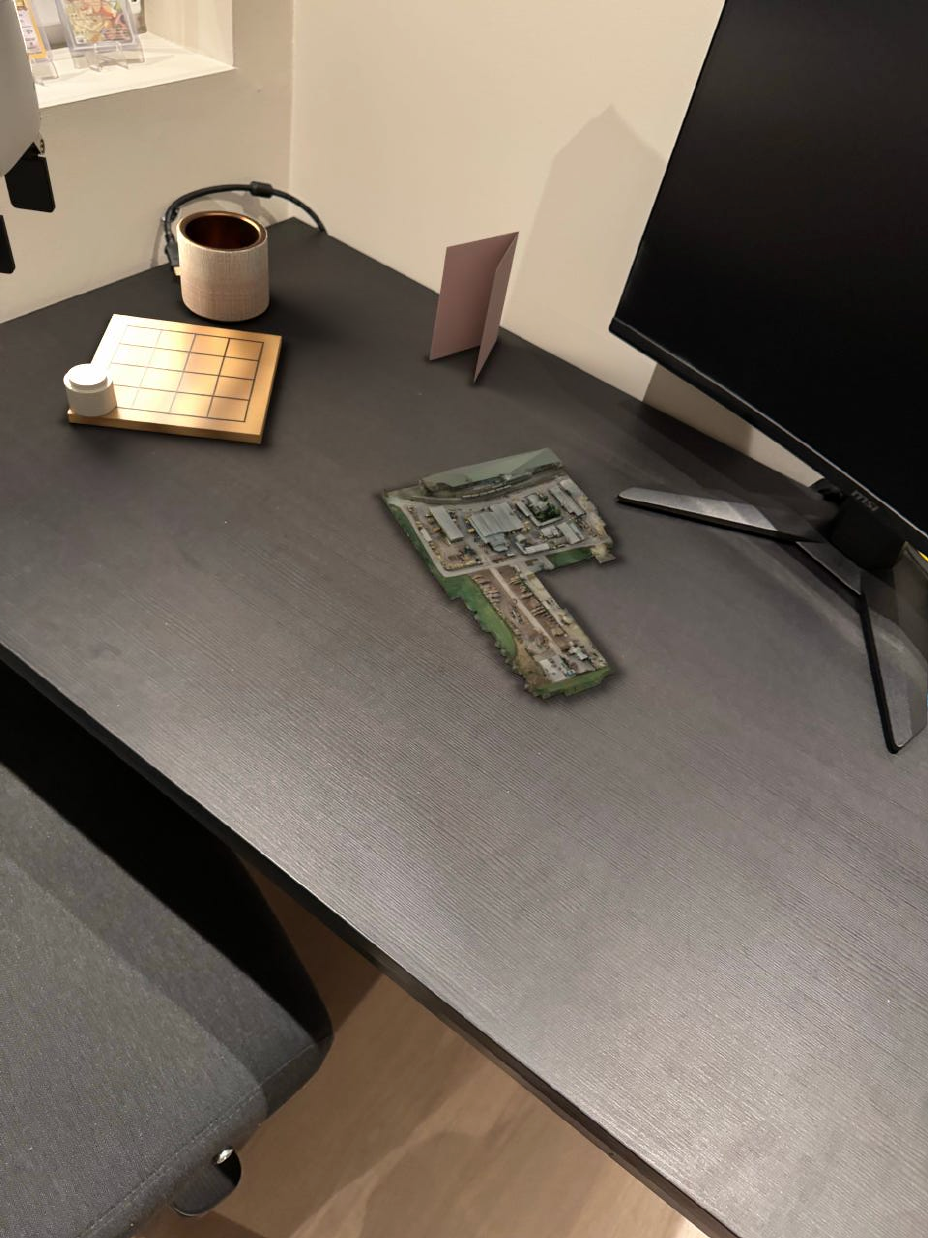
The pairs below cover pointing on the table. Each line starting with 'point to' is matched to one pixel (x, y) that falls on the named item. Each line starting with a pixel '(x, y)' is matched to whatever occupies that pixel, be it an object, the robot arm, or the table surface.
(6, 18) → the robot arm
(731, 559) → the table surface
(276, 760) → the table surface
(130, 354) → the board
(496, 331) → the greeting card
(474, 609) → the model
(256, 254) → the planter
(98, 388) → the tan tin with lid
